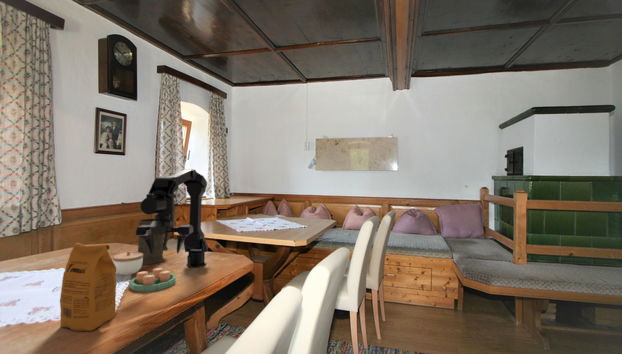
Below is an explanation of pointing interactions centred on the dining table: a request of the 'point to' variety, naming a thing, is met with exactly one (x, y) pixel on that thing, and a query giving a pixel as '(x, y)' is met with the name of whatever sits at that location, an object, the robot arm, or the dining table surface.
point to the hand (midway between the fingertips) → (165, 253)
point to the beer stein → (158, 245)
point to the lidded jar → (128, 262)
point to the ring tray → (155, 286)
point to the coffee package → (88, 288)
